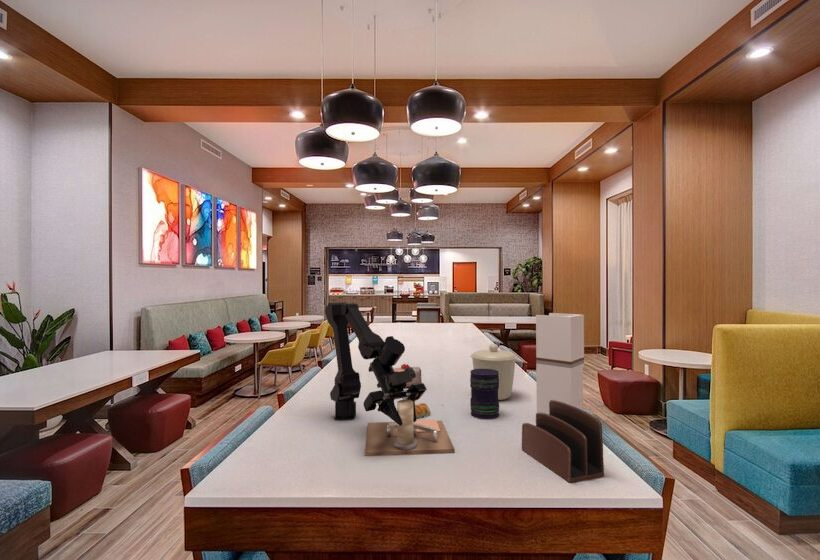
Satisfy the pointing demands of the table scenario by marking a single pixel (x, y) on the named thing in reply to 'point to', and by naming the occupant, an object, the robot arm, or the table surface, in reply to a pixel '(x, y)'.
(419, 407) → the pastry
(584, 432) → the letter holder
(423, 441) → the board
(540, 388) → the grooved white pillar
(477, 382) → the storage jar
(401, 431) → the peg
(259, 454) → the table surface
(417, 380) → the food item
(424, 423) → the pad
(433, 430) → the bent metal bar
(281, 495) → the table surface
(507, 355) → the canister
